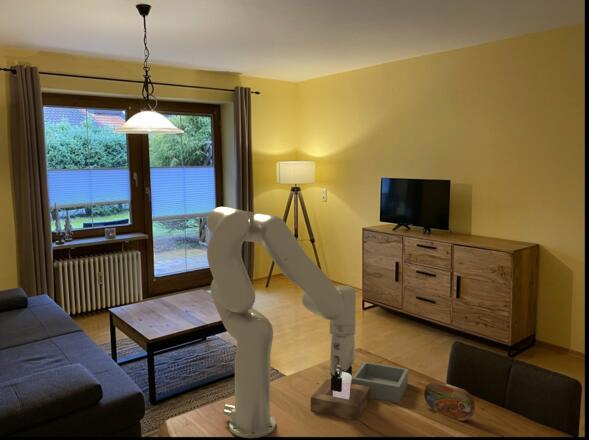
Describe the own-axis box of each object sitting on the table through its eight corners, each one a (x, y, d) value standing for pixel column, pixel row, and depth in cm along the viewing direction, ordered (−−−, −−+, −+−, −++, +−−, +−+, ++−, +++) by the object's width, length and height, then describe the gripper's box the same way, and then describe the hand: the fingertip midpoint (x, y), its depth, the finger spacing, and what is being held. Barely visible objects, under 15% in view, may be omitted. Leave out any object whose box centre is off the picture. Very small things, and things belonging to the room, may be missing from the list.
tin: (423, 406, 142) (424, 378, 141) (429, 403, 144) (430, 376, 143) (470, 426, 130) (471, 396, 130) (476, 422, 133) (477, 393, 132)
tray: (351, 393, 149) (351, 378, 149) (363, 375, 163) (364, 361, 163) (398, 402, 143) (399, 387, 143) (408, 383, 157) (408, 369, 157)
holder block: (310, 410, 138) (310, 397, 138) (326, 391, 151) (327, 378, 151) (357, 420, 133) (357, 406, 132) (370, 399, 145) (370, 387, 145)
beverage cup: (326, 405, 141) (327, 359, 140) (338, 398, 146) (339, 354, 145) (343, 412, 138) (344, 365, 136) (355, 404, 142) (356, 359, 141)
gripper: (345, 338, 130) (344, 398, 132) (362, 321, 146) (361, 375, 148) (320, 335, 133) (319, 393, 135) (339, 318, 149) (338, 371, 151)
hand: (341, 384), depth 141 cm, fingers open, 9 cm apart
